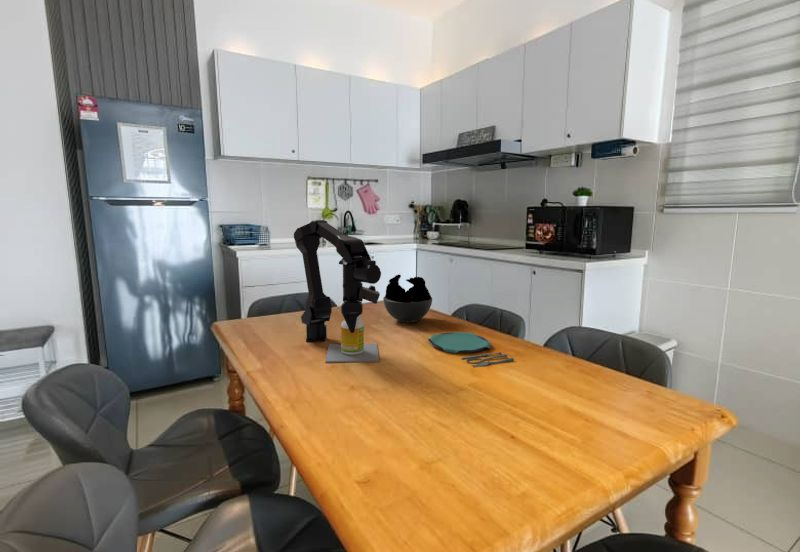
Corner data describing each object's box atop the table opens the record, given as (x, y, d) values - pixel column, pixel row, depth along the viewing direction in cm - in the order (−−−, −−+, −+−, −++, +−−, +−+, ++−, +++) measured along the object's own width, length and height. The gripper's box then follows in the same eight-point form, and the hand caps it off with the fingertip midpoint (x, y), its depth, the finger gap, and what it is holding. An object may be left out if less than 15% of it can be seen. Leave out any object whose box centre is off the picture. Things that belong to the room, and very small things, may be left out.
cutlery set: (469, 334, 157) (469, 328, 157) (520, 363, 130) (520, 356, 129) (420, 340, 150) (420, 334, 149) (463, 372, 122) (463, 364, 122)
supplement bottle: (362, 355, 131) (362, 315, 129) (339, 355, 131) (339, 314, 129) (364, 348, 138) (364, 309, 136) (343, 347, 138) (342, 309, 137)
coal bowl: (437, 327, 167) (439, 279, 164) (387, 329, 163) (388, 281, 160) (424, 314, 186) (425, 272, 183) (379, 316, 182) (379, 273, 179)
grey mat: (325, 362, 126) (325, 361, 126) (328, 345, 142) (328, 344, 142) (379, 361, 128) (379, 359, 128) (376, 344, 143) (376, 343, 143)
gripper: (379, 284, 123) (379, 336, 125) (376, 275, 141) (376, 320, 144) (340, 285, 122) (341, 337, 124) (343, 275, 140) (343, 321, 142)
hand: (352, 328), depth 134 cm, fingers open, 9 cm apart
